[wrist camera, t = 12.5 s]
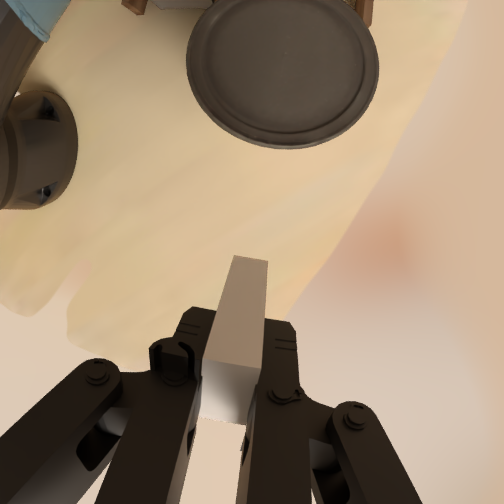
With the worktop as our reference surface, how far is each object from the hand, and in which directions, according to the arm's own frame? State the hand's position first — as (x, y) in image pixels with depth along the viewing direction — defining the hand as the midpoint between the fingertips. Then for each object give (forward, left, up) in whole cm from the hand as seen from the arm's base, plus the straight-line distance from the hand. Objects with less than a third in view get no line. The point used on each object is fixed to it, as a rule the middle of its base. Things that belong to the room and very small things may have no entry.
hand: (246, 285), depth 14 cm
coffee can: (0, +11, -18) cm, 21 cm away
